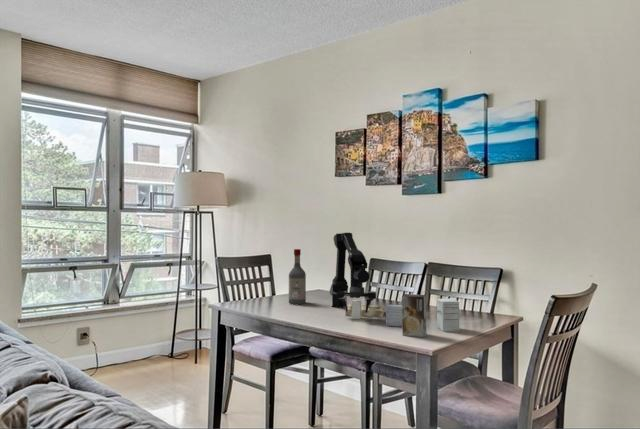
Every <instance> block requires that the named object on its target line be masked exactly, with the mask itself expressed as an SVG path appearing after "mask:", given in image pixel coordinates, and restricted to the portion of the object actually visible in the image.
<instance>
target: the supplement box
mask: <svg viewBox="0 0 640 429" xmlns="http://www.w3.org/2000/svg"><path fill="white" fill-rule="evenodd" d="M436 306H437V307H436V314H437V316H436V328H437V329H439V330H441V332H445V333H446V332H460V301H459V300H457V299H454V298H437V299H436Z"/></svg>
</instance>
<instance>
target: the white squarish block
mask: <svg viewBox="0 0 640 429" xmlns="http://www.w3.org/2000/svg"><path fill="white" fill-rule="evenodd" d="M351 305H352V316H351V319H354V320H355V319H357V320H361V319H362V316H361V305H362V300H354V299H352V301H351Z"/></svg>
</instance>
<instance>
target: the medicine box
mask: <svg viewBox="0 0 640 429" xmlns="http://www.w3.org/2000/svg"><path fill="white" fill-rule="evenodd" d="M385 313H386V317H385V319H386V322H385V323H386V326H387V327H388V326H389V327H390V326H391V327H402V304H400V305H399V304H388V305H386V310H385Z"/></svg>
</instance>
